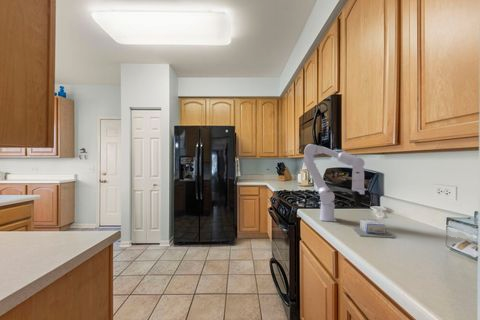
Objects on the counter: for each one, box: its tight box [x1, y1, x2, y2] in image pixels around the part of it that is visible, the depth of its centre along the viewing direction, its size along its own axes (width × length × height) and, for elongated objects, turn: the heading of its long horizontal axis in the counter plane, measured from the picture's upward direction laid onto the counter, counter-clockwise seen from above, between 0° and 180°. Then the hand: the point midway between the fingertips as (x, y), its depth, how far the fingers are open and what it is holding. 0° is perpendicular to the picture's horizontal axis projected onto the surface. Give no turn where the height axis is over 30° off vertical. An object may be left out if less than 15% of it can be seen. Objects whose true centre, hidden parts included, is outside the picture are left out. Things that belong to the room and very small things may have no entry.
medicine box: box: [359, 219, 386, 234], centre depth 110 cm, size 8×4×9 cm
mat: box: [352, 227, 396, 239], centre depth 108 cm, size 11×14×1 cm
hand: (357, 205), depth 124 cm, fingers closed
